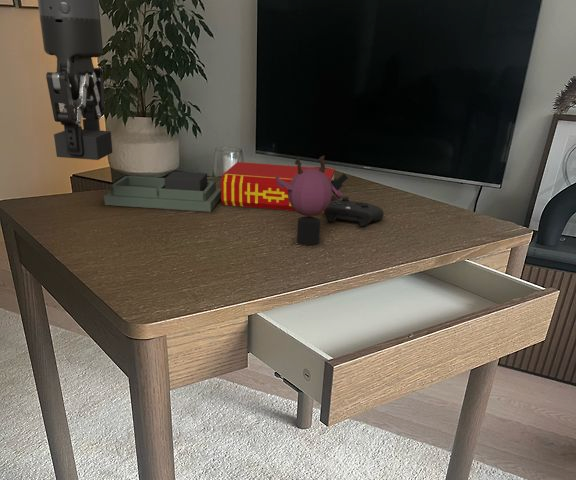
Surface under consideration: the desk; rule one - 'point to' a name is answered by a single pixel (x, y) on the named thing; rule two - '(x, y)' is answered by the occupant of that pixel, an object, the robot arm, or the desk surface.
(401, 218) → the desk surface
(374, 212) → the game controller
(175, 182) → the pad
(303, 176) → the figurine
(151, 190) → the divided tray
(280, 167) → the book
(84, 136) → the pad
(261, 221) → the desk surface
